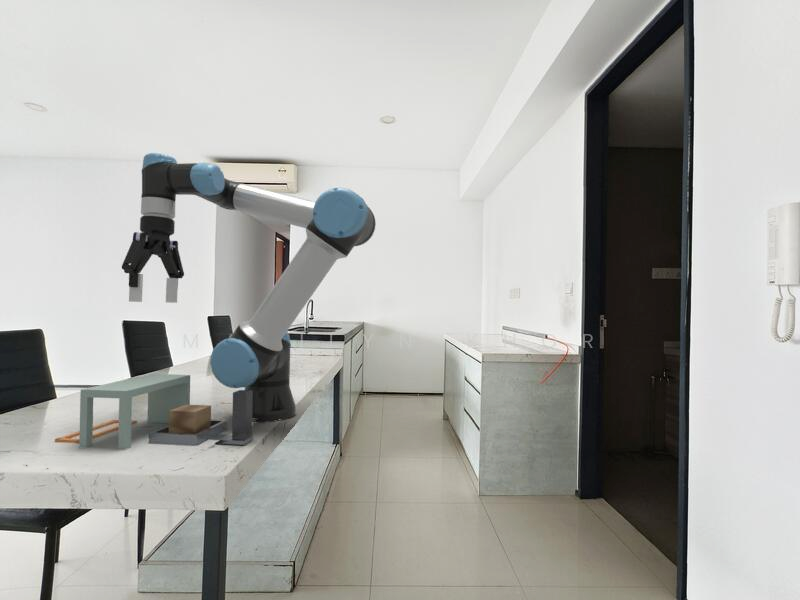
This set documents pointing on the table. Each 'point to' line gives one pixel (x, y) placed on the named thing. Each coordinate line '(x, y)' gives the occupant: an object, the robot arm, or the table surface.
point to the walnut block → (190, 419)
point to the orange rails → (69, 437)
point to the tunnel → (161, 399)
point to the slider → (216, 426)
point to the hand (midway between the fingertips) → (154, 302)
